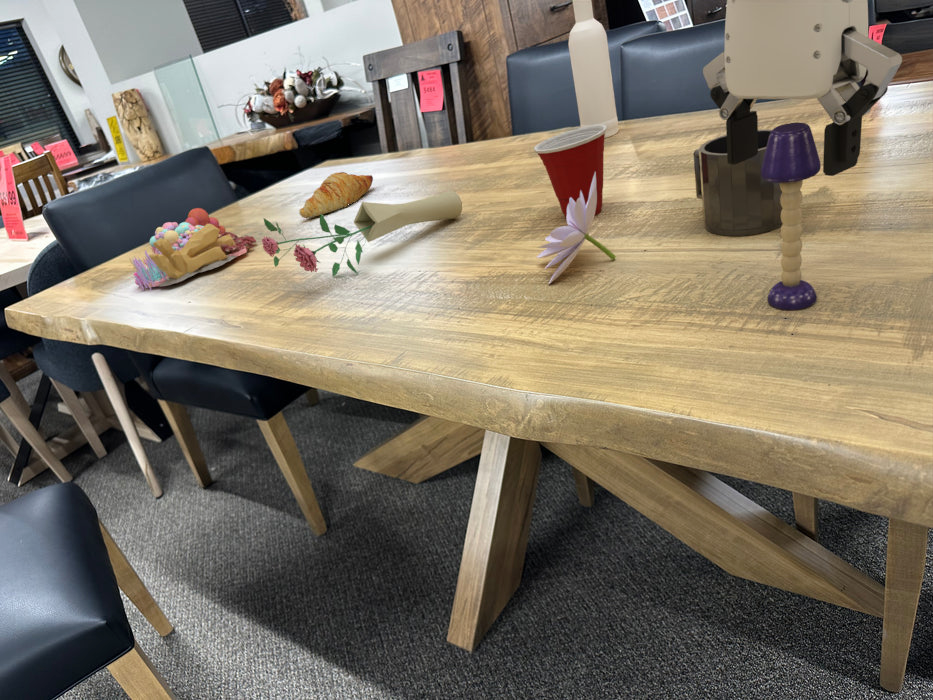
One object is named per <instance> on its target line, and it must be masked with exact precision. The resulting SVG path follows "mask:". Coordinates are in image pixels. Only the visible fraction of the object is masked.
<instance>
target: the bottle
mask: <svg viewBox="0 0 933 700" xmlns="http://www.w3.org/2000/svg"><path fill="white" fill-rule="evenodd" d="M572 7H573V13H574V20H575V23H574V24H573V27H572V28H571V30H570V32H569V36H568V51H569V58H570V63H571V71H572V77H573V84H574V89H575V90H574V91H575V97H576V103H577V104H576V105H577V110H578V117H579V123H580V125H579V126H580V127H579V128H582V127H587V126H592V125H604V126H607V127H606V132H605V136H604V139H607V138H610V137H613V136H615V135H617V134H618V132H619V130H620V129H619V120H618V115H617V114H618V113H617V107H616V98H615V92H614V84H613V77H612V76H613V75H612V68H611V67H612V66H611V59H610V52H609V51H610V50H609V44H608V43H609V42H608V36H607V32H606V30H605V28H604V25H603V24H602V23H601V22H599V20H597V19H595V18H594V11H593V3H592V0H572Z"/></svg>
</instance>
